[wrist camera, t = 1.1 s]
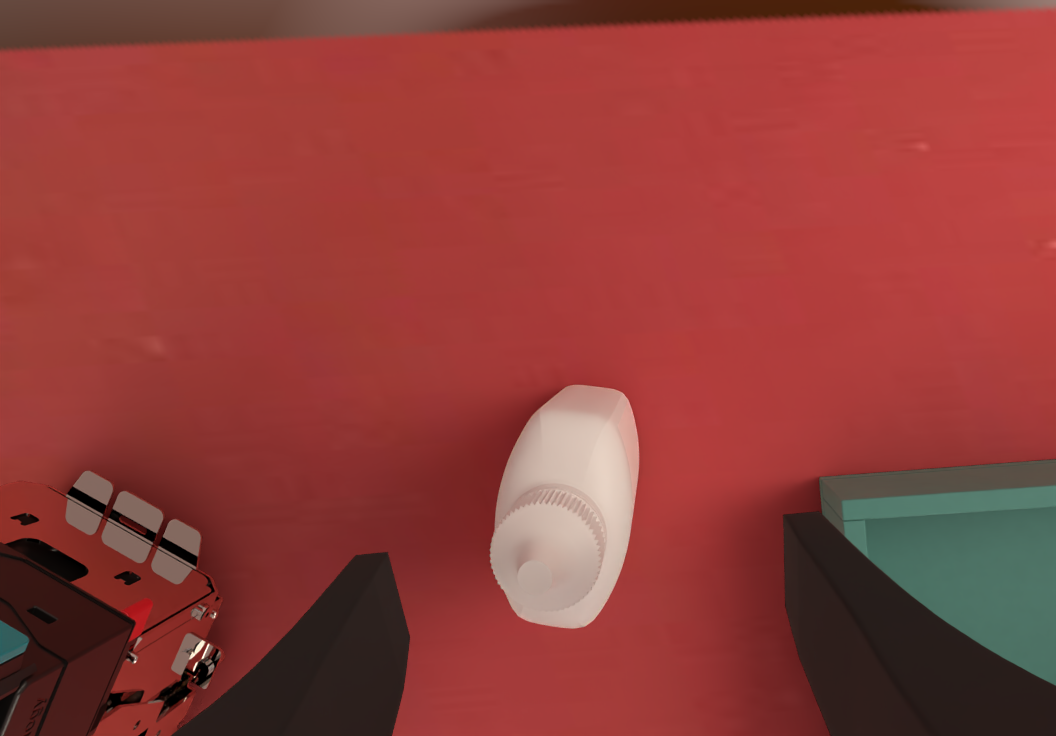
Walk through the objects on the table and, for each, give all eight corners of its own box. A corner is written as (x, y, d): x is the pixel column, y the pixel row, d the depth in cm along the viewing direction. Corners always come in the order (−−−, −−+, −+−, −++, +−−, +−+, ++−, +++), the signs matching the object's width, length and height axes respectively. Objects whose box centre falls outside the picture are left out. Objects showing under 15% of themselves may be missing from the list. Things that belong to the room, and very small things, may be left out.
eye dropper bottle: (690, 438, 28) (713, 531, 16) (592, 571, 29) (543, 754, 17) (582, 361, 28) (525, 396, 16) (487, 495, 29) (369, 620, 17)
